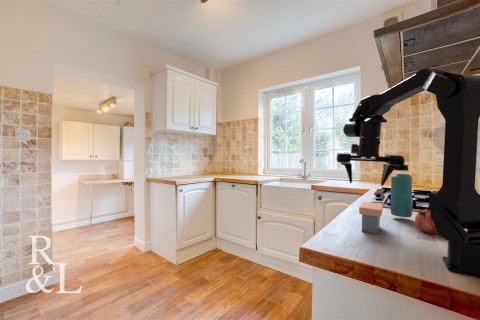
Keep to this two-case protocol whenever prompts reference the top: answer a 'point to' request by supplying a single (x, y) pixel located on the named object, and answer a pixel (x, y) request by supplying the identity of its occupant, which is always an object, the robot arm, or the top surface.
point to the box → (370, 224)
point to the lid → (371, 209)
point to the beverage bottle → (401, 193)
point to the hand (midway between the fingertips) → (366, 184)
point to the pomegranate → (425, 222)
